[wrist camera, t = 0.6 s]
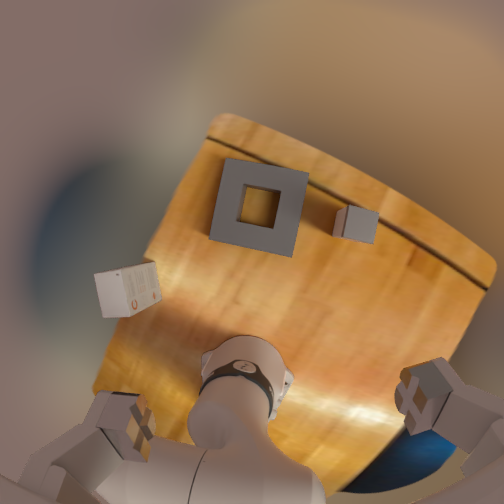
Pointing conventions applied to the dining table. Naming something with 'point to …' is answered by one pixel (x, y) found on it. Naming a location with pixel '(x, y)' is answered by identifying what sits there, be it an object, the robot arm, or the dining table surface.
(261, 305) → the dining table surface
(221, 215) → the socket block
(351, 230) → the plug
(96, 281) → the small box
